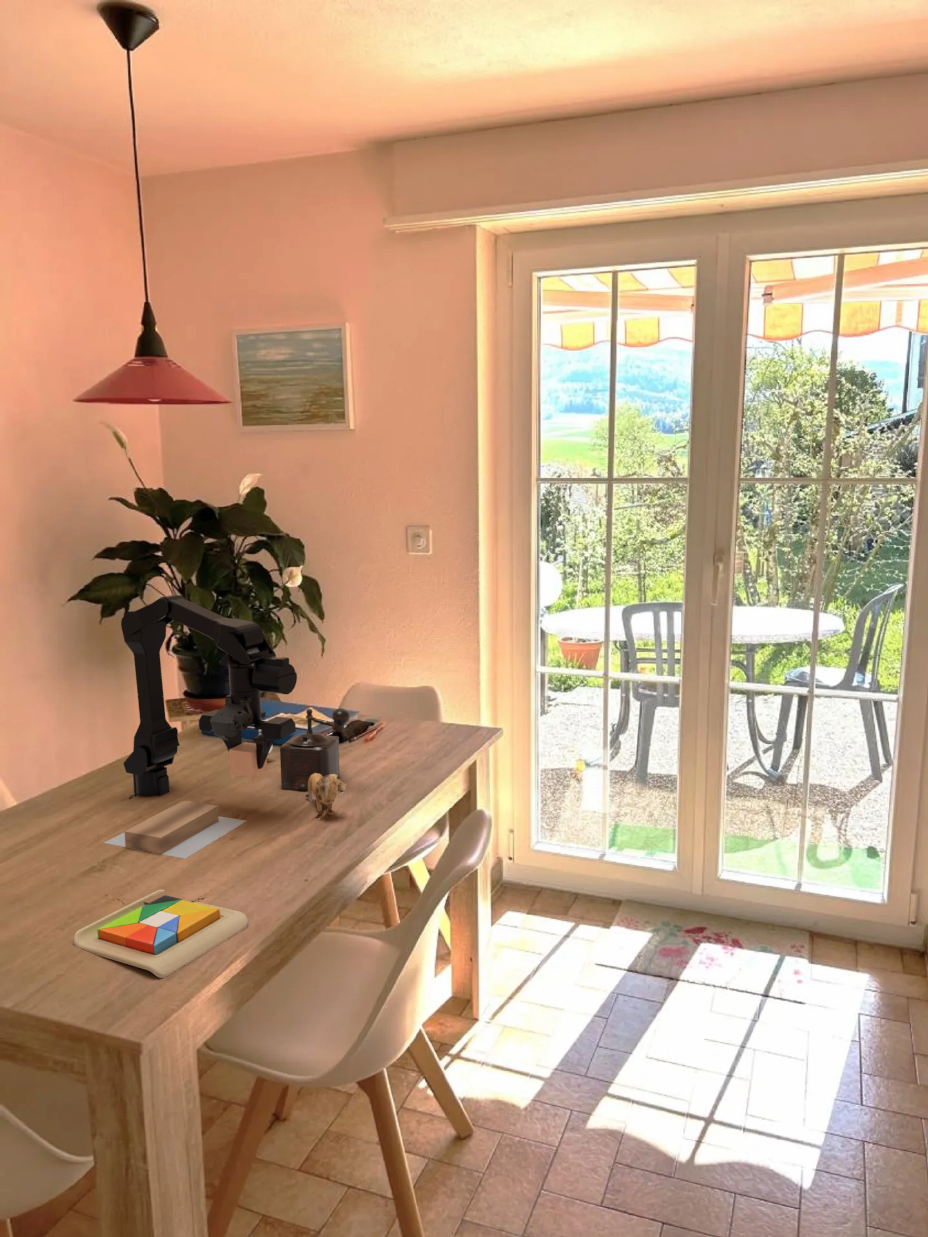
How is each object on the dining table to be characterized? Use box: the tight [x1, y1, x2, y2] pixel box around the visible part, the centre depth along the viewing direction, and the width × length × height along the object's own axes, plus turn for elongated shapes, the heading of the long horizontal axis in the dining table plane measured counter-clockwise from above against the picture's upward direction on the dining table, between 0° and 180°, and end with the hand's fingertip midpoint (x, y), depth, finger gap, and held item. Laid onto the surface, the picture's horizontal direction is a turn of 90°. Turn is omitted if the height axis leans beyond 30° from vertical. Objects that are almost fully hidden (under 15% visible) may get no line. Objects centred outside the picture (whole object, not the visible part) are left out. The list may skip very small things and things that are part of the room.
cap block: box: [228, 742, 268, 778], centre depth 173 cm, size 5×5×5 cm
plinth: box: [123, 800, 219, 855], centre depth 165 cm, size 8×16×3 cm, turn 158°
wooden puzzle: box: [73, 889, 249, 979], centre depth 132 cm, size 17×19×4 cm
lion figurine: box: [304, 773, 348, 819], centre depth 179 cm, size 15×5×9 cm, turn 35°
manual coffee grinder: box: [279, 707, 351, 792], centre depth 193 cm, size 16×11×18 cm
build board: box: [103, 815, 247, 860], centre depth 166 cm, size 18×18×1 cm
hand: (248, 766), depth 174 cm, fingers closed on cap block, 5 cm apart
